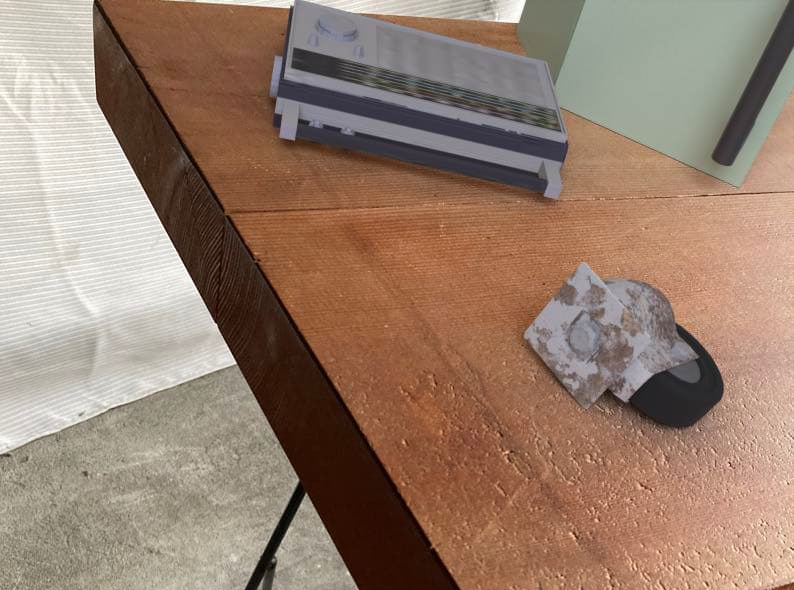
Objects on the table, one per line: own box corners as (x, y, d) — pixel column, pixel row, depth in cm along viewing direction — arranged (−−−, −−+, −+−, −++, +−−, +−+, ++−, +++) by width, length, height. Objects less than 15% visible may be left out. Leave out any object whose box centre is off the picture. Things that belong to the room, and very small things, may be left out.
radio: (550, 51, 90) (582, 155, 76) (531, 107, 94) (558, 216, 80) (286, -16, 85) (270, 82, 72) (276, 46, 89) (260, 150, 76)
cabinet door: (724, 216, 87) (866, -49, 72) (524, 124, 90) (619, -150, 75) (741, 184, 93) (877, -68, 77) (551, 99, 96) (645, -161, 80)
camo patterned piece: (696, 433, 69) (625, 467, 62) (595, 316, 71) (517, 336, 65) (766, 369, 64) (698, 399, 57) (656, 246, 67) (578, 260, 60)
